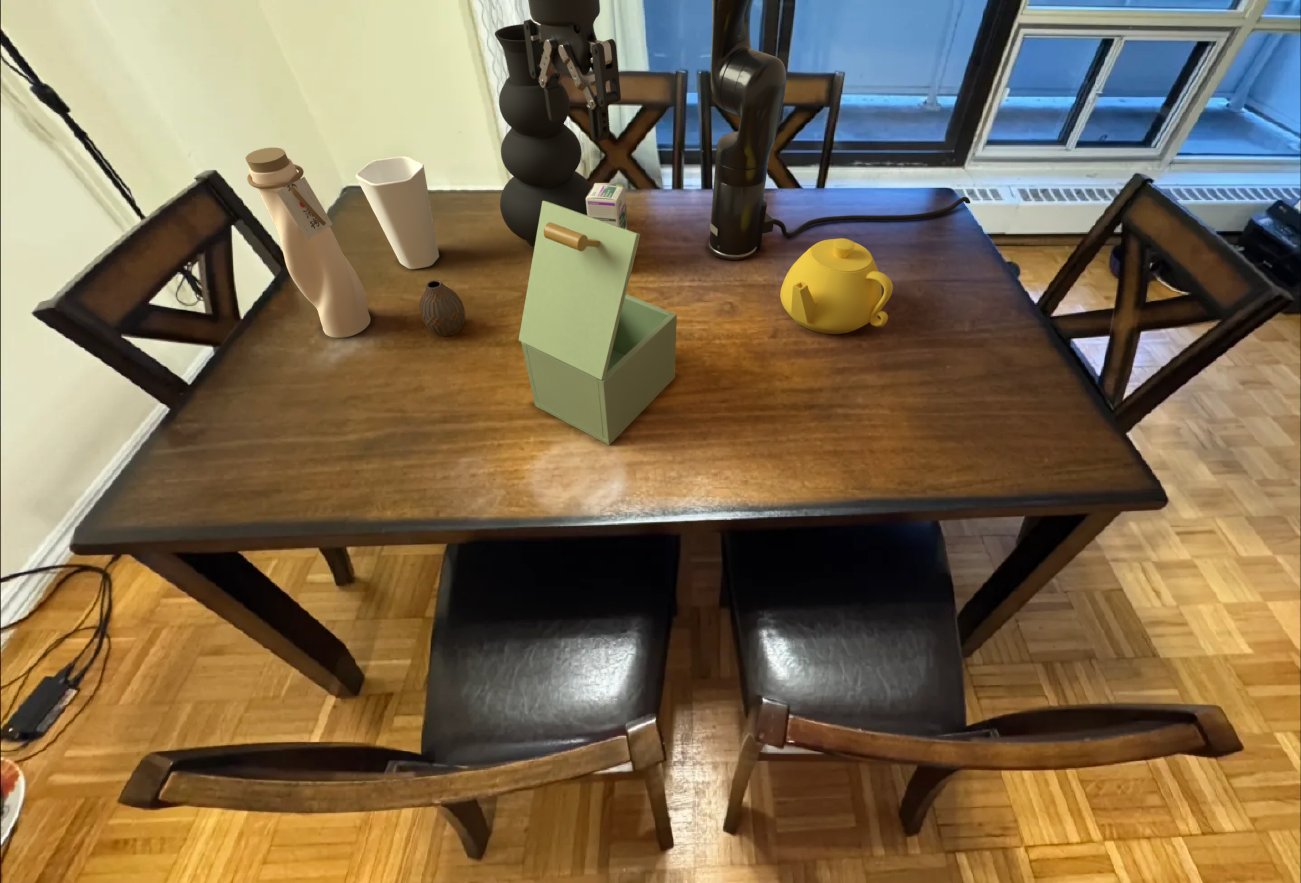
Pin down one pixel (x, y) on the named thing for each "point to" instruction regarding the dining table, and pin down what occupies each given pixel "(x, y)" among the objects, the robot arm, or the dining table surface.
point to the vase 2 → (534, 146)
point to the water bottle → (309, 243)
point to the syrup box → (608, 204)
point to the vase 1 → (441, 309)
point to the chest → (610, 374)
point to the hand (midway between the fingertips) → (578, 129)
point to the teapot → (836, 288)
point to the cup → (402, 208)
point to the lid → (577, 287)
